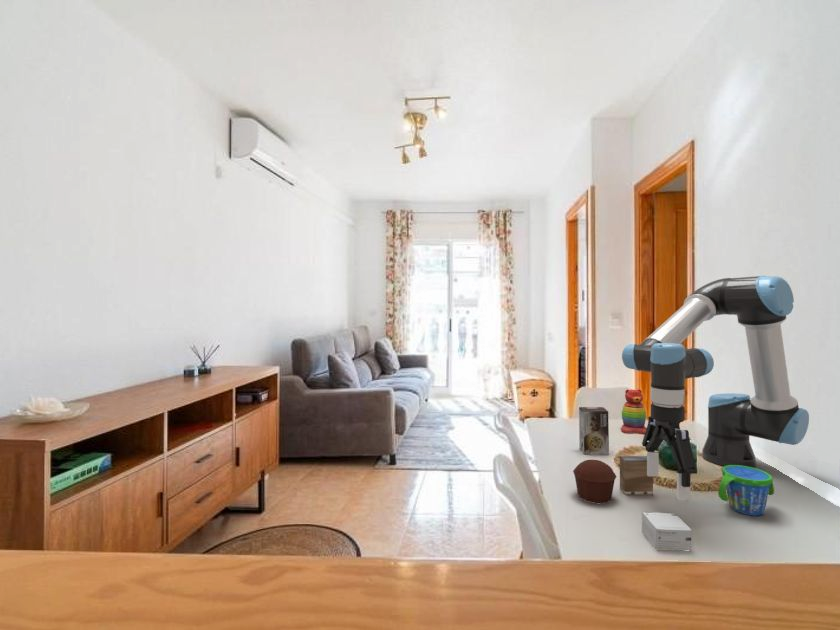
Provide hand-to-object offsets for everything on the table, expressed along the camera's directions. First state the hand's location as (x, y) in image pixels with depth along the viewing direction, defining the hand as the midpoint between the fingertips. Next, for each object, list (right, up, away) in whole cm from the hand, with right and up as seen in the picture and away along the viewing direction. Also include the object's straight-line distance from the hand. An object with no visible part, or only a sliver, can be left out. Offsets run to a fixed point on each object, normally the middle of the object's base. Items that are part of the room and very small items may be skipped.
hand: (667, 486), depth 109 cm
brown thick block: (0, -8, +16) cm, 17 cm away
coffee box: (+1, -7, +50) cm, 50 cm away
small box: (-6, -9, -10) cm, 15 cm away
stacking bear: (+29, -6, +75) cm, 81 cm away
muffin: (-13, -8, +13) cm, 20 cm away
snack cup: (+23, -8, +4) cm, 25 cm away
